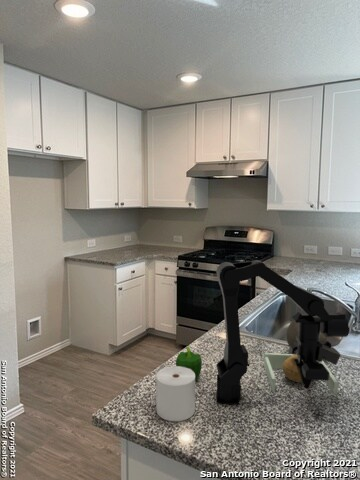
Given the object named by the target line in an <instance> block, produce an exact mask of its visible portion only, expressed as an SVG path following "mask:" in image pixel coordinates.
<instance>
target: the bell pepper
mask: <svg viewBox="0 0 360 480" xmlns="http://www.w3.org/2000/svg"><path fill="white" fill-rule="evenodd" d="M185 349H186V352H185V351H184V352H183V351H181V352H179V353H178V355H177V357H176V359H175V366H180V367H185V368H189V369H191V370H192V371H193V372H194V373H195V382H196V381H197V380H198V379H199V378H200V375H201V371H202V366H203V364H202V363H203V362H202V357H201V354H199V353H195V352H193V351H191V348H190V346H186V347H185Z"/></svg>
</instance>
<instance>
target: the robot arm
mask: <svg viewBox="0 0 360 480" xmlns="http://www.w3.org/2000/svg"><path fill="white" fill-rule="evenodd" d="M215 273H216V276H217V280H218V284H219V287H220V292H221V294H222V302H223V303H222V304H223V315H224V328H225V339H226V340H225V345H224V350H223V358H222V359H221V360H220V361H218V362H217V363H216V365H215V367H216V369H217V373H218V374H216V390H215V391H216V393H215V394H216V397H215V398H216V401H215V403H216V404H224V405H225V404H226V405H240V400H241V398H242V383H241V380H242V377H244V376H245V374H247V372H248V368H249V367H250V364H249V352H248V349H247V347H246V345H245V344H244V343H241V331H240V330H241V329H240V317H239V306H238V305H239V304H238V294H239V290H240V285H241V282H245V281H248V280H250V279H253V278H257V277H259V278H260V279H262V280H263V281H265V282H267V284H269V285H271V286H273V287H274V288H276V289H277V290H278V291H280V292H281V293H283V295H286V296H288V298H289V299H291V301H292V302H293V303H294V304H295V305H297V307H298V308H299V309H300V310H302V311H303V312H304V313H306V314H302V313H301V312H299V311H297V312H296V313H295V314H293V316H291V319H292V321H293V320H294V321H295V322H296V323H299V333H298V336H296V340H297V341H298V343H295V342H293V343H292V344H290V347H289V352H290V354H294V351H296V355H297V359H295V360H294V361H295V363H296V366H297V369H298V371H299V374H300V377H301V380H302V382H301V383H302V385H303V387H304V389H309V388H310V386H311V383H312V382H313V381H325V380H329V374H330V373H329V371H328V370H327V369H326V367H325V366H324V365H323V364H319V362H318V361H320V362H322V360H323V361H327V362H329V363H332V365H335V366H336V365H337V364H338V362H339V360H340V358H341V353H340V352H339V351H338V350H337V349H336V348H335V347H333V346H332V343H331V341H329V340H328V339H327V340H324V341H323V342H320V341H319V339H320V332H321V333H323V334H324V336H325V337H327V338H347V337H348V336H349V333H350V326H349V322H348V320H347V315H346V314H345V313H344V312H341V311H339V312H328V311H327V309H325V301H324V299H322V298H321V297H320V296H318V295H316V294H315V293H313V292H312V291H310V290H307V289H305V288H303V287H301V286H299V285H295V284H294V283H292V282H291V281H289V280H287V279H286V278H284V277H283V276H282V275H280V274H279V273H277V272H276V271H274V270H273V269H271V268H269V267H268V266H267V265H266V264H265V263H264V262H263V261H261V260H260V259H259V260H258V259H254V260H250V261H241V262H235V263H232V262H229V261H225V262H221V263H220V264H218V266H217V268H216V271H215Z"/></svg>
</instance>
